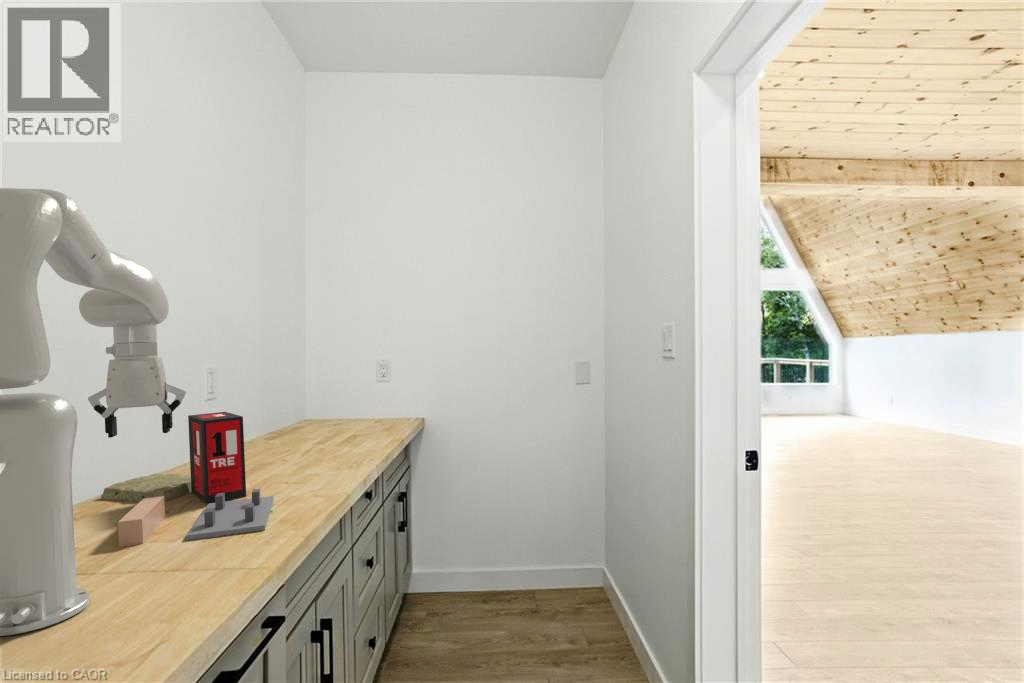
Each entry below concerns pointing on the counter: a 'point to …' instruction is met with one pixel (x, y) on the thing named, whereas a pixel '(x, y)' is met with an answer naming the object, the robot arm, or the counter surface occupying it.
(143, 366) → the robot arm
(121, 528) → the clay strip
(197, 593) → the counter surface
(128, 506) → the counter surface
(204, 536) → the grey plate with pegs
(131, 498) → the decorative tile
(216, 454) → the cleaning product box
